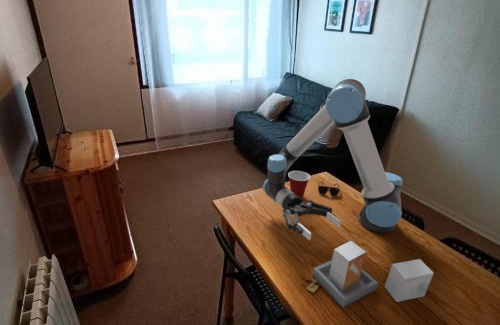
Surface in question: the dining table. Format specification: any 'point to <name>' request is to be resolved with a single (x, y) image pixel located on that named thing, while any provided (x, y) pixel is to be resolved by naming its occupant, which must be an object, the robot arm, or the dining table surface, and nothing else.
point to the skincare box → (408, 280)
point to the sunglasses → (325, 188)
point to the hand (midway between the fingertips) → (325, 230)
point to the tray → (351, 293)
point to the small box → (346, 265)
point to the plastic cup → (298, 182)
